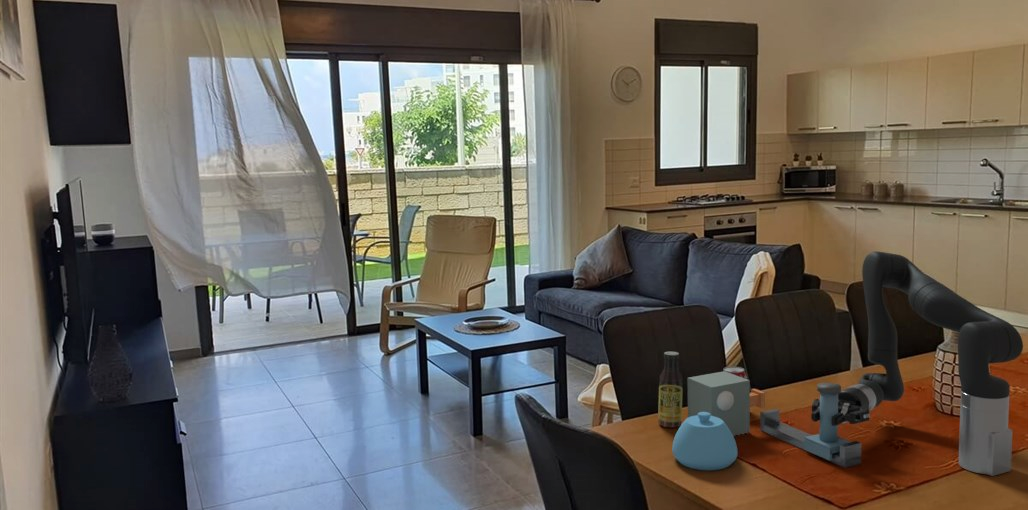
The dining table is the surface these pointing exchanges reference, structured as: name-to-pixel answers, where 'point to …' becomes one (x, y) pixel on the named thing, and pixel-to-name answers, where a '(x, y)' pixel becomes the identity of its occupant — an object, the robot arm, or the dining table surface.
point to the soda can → (736, 371)
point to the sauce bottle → (670, 392)
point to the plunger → (757, 398)
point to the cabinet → (721, 399)
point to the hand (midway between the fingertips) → (823, 419)
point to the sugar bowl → (704, 443)
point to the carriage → (826, 424)
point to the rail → (796, 437)
